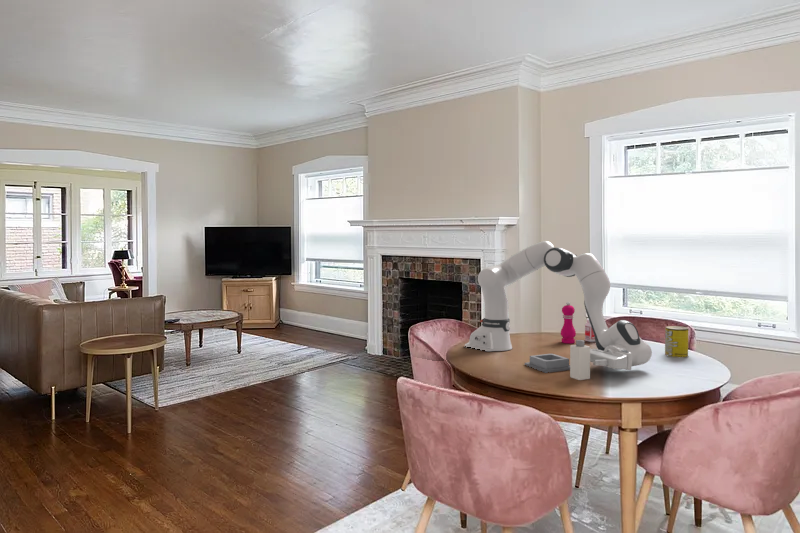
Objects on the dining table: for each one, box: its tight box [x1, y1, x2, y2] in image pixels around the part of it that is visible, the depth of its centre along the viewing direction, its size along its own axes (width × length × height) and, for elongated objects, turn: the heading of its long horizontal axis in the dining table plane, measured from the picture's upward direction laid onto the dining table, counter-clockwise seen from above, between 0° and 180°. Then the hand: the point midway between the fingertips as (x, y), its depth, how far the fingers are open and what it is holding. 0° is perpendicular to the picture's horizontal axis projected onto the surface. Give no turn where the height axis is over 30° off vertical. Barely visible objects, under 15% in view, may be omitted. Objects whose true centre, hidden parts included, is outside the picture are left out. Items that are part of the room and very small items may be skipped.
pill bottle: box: [584, 317, 595, 343], centre depth 278 cm, size 6×6×11 cm
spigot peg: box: [569, 339, 591, 381], centre depth 208 cm, size 5×5×14 cm
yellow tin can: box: [664, 325, 689, 358], centre depth 244 cm, size 9×9×12 cm
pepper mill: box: [560, 301, 577, 345], centre depth 274 cm, size 7×7×20 cm
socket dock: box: [523, 353, 570, 374], centre depth 225 cm, size 14×14×4 cm
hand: (585, 360), depth 209 cm, fingers open, 8 cm apart
